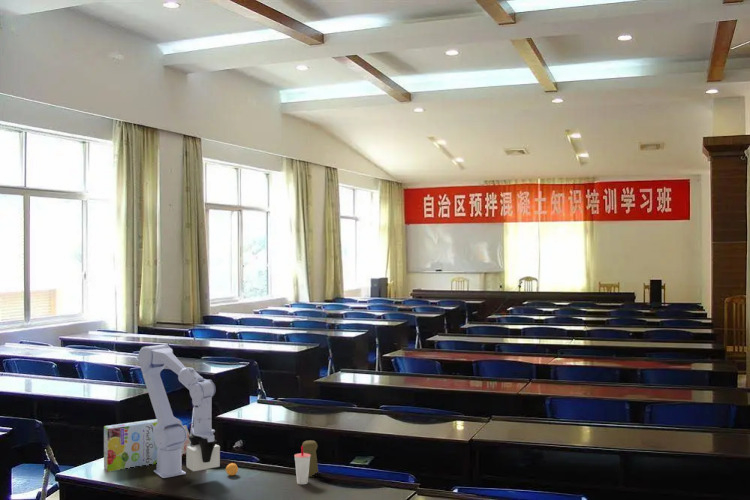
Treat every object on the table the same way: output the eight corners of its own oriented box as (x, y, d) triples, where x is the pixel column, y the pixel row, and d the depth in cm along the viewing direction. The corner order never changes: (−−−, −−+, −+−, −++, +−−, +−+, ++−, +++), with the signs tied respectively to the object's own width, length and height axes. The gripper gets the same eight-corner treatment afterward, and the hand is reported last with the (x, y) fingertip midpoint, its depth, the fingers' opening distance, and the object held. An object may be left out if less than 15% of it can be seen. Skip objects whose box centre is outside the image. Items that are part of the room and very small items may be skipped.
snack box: (164, 458, 251) (164, 417, 251) (168, 462, 246) (169, 420, 246) (103, 468, 239) (103, 425, 239) (107, 472, 234) (107, 428, 234)
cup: (295, 486, 219) (295, 448, 220) (292, 481, 225) (293, 444, 225) (312, 484, 221) (312, 447, 221) (309, 479, 226) (309, 443, 226)
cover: (186, 467, 224) (186, 446, 224) (212, 462, 230) (212, 442, 230) (193, 471, 219) (193, 450, 220) (219, 466, 225) (219, 446, 225)
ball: (223, 475, 231) (223, 463, 231) (234, 472, 233) (234, 461, 234) (228, 477, 228) (229, 465, 228) (240, 475, 230) (240, 463, 230)
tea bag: (171, 455, 254) (171, 428, 255) (181, 451, 261) (181, 424, 261) (179, 456, 253) (180, 429, 254) (190, 451, 260) (190, 425, 260)
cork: (315, 476, 229) (315, 443, 229) (298, 475, 230) (298, 442, 230) (320, 471, 235) (320, 439, 235) (303, 470, 236) (303, 438, 236)
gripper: (223, 420, 221) (223, 462, 221) (205, 412, 233) (205, 452, 233) (202, 423, 217) (202, 466, 217) (185, 415, 229) (185, 456, 228)
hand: (202, 459), depth 224 cm, fingers closed on cover, 6 cm apart
